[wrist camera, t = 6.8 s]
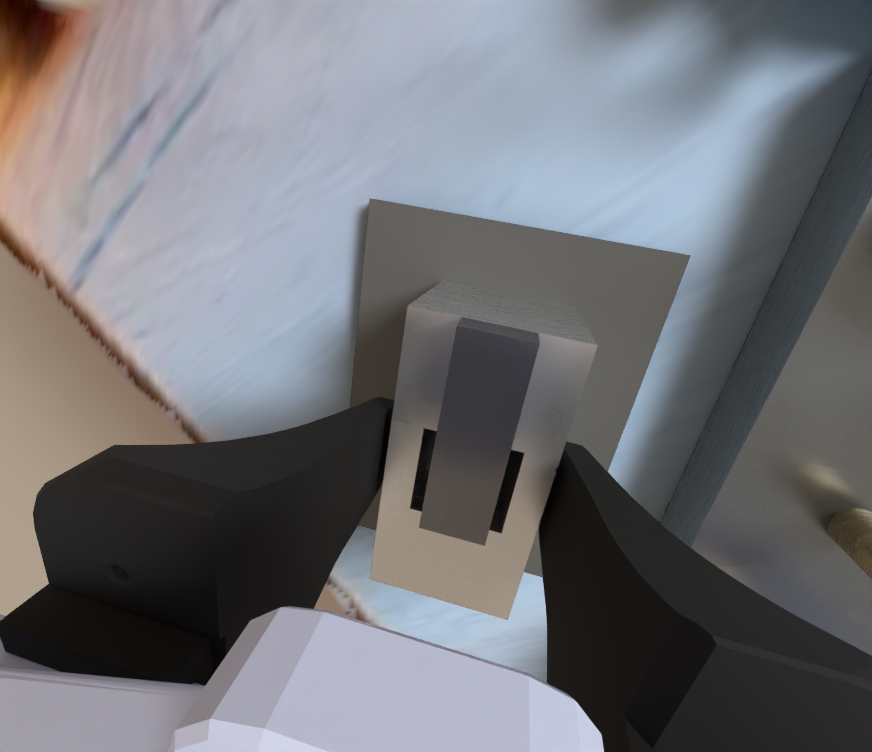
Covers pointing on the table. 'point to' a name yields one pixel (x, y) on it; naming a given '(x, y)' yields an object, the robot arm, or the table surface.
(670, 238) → the table surface
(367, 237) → the flat grey panel
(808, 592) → the grey base plate
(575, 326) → the white slotted box
